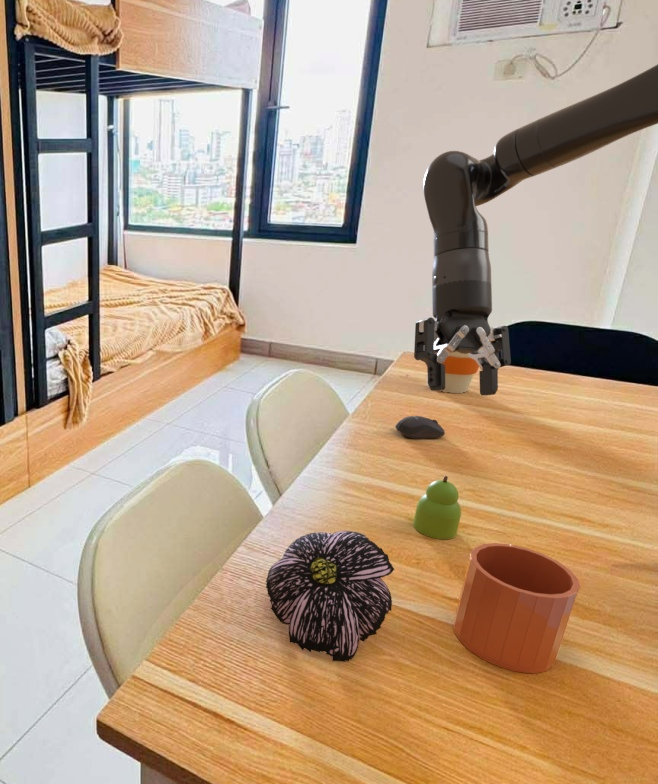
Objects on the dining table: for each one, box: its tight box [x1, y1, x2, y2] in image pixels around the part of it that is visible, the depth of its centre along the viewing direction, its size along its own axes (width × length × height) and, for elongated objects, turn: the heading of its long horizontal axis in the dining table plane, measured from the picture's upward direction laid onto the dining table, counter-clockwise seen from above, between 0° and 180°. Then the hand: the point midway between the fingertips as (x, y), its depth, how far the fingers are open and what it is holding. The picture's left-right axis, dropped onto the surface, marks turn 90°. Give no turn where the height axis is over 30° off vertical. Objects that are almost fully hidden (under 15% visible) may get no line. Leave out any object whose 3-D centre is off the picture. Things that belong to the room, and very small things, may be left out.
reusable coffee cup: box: [425, 333, 483, 394], centre depth 154 cm, size 13×13×15 cm
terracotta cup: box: [452, 542, 581, 674], centre depth 71 cm, size 10×10×10 cm
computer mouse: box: [394, 415, 446, 440], centre depth 128 cm, size 6×9×4 cm, turn 94°
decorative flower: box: [265, 530, 395, 663], centre depth 75 cm, size 15×12×15 cm
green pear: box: [412, 475, 462, 540], centre depth 94 cm, size 6×6×9 cm
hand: (463, 392), depth 92 cm, fingers open, 8 cm apart
